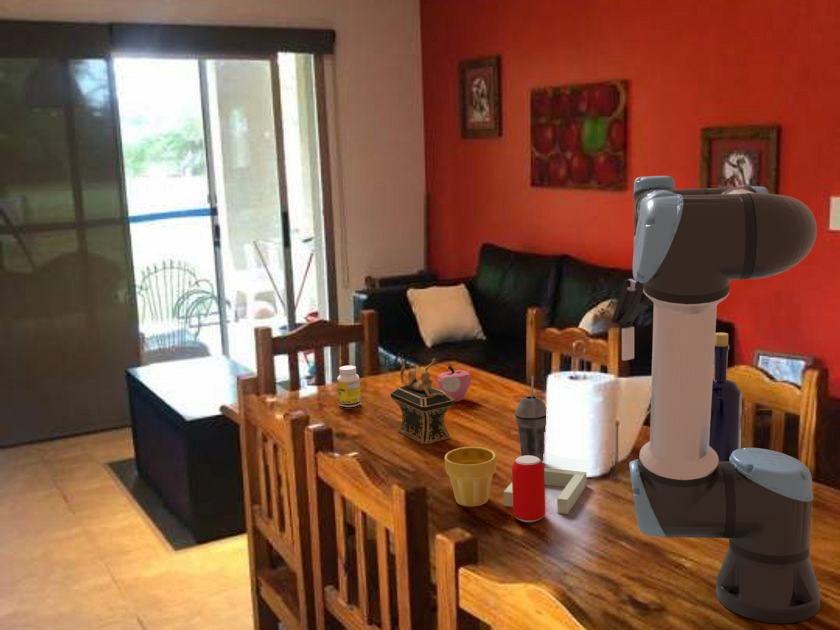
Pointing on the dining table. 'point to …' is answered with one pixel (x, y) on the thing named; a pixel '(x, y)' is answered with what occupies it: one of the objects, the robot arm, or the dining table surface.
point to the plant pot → (471, 474)
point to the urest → (562, 478)
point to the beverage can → (528, 488)
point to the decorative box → (422, 407)
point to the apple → (454, 383)
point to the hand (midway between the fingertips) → (653, 365)
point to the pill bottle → (348, 387)
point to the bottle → (724, 404)
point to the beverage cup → (531, 424)
